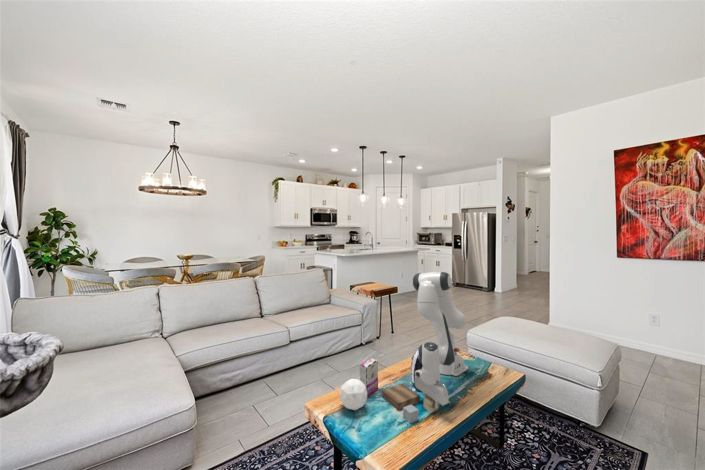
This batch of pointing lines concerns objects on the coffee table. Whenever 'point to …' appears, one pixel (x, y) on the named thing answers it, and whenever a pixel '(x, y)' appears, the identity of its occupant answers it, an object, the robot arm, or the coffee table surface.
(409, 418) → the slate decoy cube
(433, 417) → the coffee table surface
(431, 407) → the maple cube
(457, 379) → the coffee table surface
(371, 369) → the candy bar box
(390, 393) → the walnut base block
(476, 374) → the coffee table surface
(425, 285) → the robot arm
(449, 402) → the car cutout
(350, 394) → the geodesic sphere
